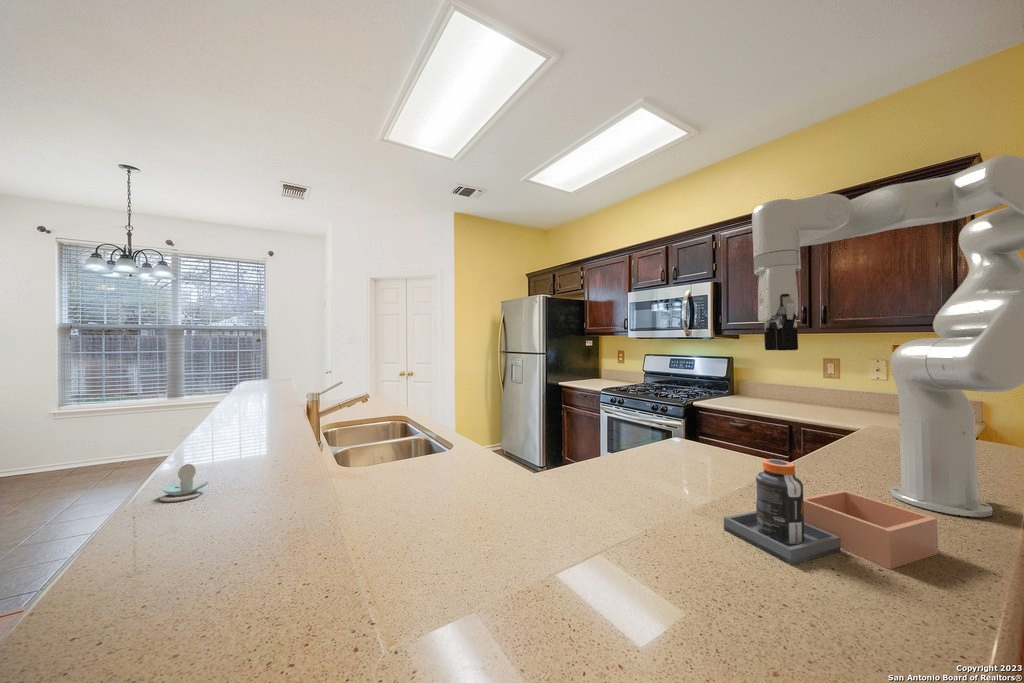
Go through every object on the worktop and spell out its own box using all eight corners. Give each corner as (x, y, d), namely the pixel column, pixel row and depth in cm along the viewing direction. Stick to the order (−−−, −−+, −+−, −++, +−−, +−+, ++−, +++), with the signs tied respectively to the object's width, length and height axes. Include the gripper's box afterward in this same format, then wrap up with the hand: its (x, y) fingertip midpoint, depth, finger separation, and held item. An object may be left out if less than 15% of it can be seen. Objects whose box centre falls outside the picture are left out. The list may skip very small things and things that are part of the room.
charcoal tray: (769, 519, 63) (769, 508, 63) (840, 551, 53) (840, 537, 53) (723, 529, 59) (723, 517, 59) (791, 565, 49) (790, 550, 49)
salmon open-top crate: (843, 519, 63) (843, 490, 63) (938, 553, 52) (937, 518, 52) (798, 529, 59) (797, 498, 59) (890, 569, 48) (889, 531, 49)
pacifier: (194, 502, 71) (213, 489, 77) (194, 470, 71) (213, 460, 76) (149, 505, 69) (172, 492, 75) (150, 472, 69) (172, 462, 75)
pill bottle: (813, 547, 53) (812, 469, 53) (767, 543, 54) (766, 466, 54) (790, 528, 58) (789, 457, 59) (749, 524, 60) (748, 455, 60)
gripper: (746, 274, 82) (749, 350, 81) (763, 257, 66) (767, 350, 66) (787, 270, 79) (791, 349, 78) (815, 251, 63) (819, 349, 63)
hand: (780, 350), depth 72 cm, fingers open, 9 cm apart
